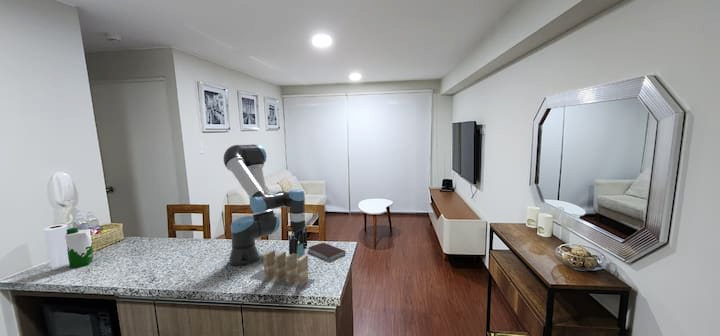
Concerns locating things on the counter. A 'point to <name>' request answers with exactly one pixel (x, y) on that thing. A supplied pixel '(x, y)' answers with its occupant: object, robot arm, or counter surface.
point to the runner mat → (261, 277)
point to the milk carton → (79, 247)
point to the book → (326, 251)
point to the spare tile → (300, 250)
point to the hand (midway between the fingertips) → (299, 263)
